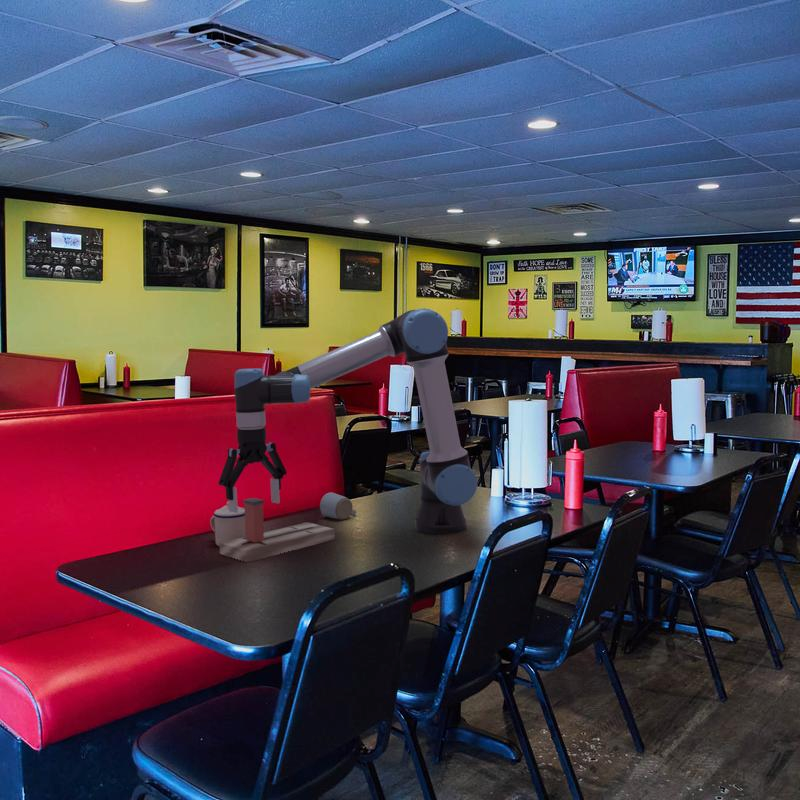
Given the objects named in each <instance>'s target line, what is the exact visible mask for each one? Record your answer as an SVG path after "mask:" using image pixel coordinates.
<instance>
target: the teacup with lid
mask: <svg viewBox="0 0 800 800" xmlns="http://www.w3.org/2000/svg"><path fill="white" fill-rule="evenodd" d="M237 509H238V512H237V513H234V512H230V511H229V501H227V502H226V504H225V505H224V506H222V507H221V508H219V509H216V510H215V511H214V512H213V513H214V514H213V515H212V517H211V518H210V520H209V524H210V527H211V529H212V531H213V532H214V534H215V535H214V536H215V537H214V538H215V545H216V546H218V547H220V544H219V543H221V542H225V541H229V540H234V539H238V538H242V537H245V507H240V506H238V505H237Z"/></svg>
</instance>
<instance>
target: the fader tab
mask: <svg viewBox="0 0 800 800" xmlns="http://www.w3.org/2000/svg"><path fill="white" fill-rule="evenodd" d="M242 502H243V504H244V509H245V537H246V540H248V541H251V542H258V541H263V540H264V532H265V530H264V504H265V501H264V499H261V498H256V497H252V498H247V499H243V501H242Z"/></svg>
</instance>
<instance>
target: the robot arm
mask: <svg viewBox="0 0 800 800" xmlns="http://www.w3.org/2000/svg"><path fill="white" fill-rule="evenodd" d="M448 329H449V328H448V324H447V322H446V320H445V319H444V317H443V316H442V315H441V314H440V313H438V312H436V311H435V310H433V309H430V308H418V309H411V310H408V311H406V312H403V313H401V314H400V315H398V316H397V317H395V318H393V319H392V320H390V321H388V322H386V323H384V324H382V325H380V326H379V327H378V329H377V331H374V332H373V333H370V334H367V335H365V336H363V337H360V338H358V339H356V340H353V341H352V342H349V343H346V344H344V345H342V346H340V347H338V348H336V349H332V350H330V351H328V352H326V353H324V354H321V355H319V356H317V357H315V358H312V359H310V360H308V361H305V362H303V363H301V364H298V365H297V366H294V367H291V368H289V369H287V370H282V371H279V372H278V373H276V374H274V375H265V373H264V370H263V369H262V368H257V367H256V368H241V369H238V370H237V369H236V371H235V372H234V398H235V399H234V401H235V403H234V404H235V416H236V417H235V418H236V427H237V429H236V440H237V444H238V447H237V448H236V449H235V448H228V449H227V458H226V461H225V463H224V466H223V468H222V472H221V473H220V477H219V481H218V483H217V484H218V486H221V487H224V488H225V497H226V498H225V499H226V500H227V501H228V502H229V511H230V512H234V513H237V512H238V509H237V506H238V493H237V489H238V488H237V487H236V486H235V485H236V483H237V481H238V480H239V478H240V476H241V475H242V473H243V471H244V470H245V468H246V467H247V466H248V465H249V464H250V465H251V464H254V463H261V464H262V466H263V467H264V468H265V469H266V470H267V471H268V473H269V475H271V476H272V477H271V478H270V496H271V497H270V498H271V500H270V501H271V503H272V504H273V503H275V504H280V503H281V501H280V500H281V499H280V490H282V482H281V481H282V479H283V478H284V476H286V475H287V473H288V472H287V470H286V468H285V465H284V464H283V461H282V459H281V457H280V454H279V453H278V452H277V451H278V450H277V445H276V443H275V442H270V441H268V442H267V443H266V441H267V429H266V427H265V426H266V425H267V422H266V421H267V420H266V406H265V405H272V404H274V405H275V404H276V405H277V404H279V405H280V404H300V403H307V402H309V401H310V399H311V390H312V389H314V388H316V387H318V386H321V385H324V384H325V383H328V382H331V381H333V380H335V379H337V378H340V377H341V376H345V375H346V374H348V373H351V372H354V371H356V370H358V369H360V368H363V367H366V366H367V365H370V364H371V363H374V362H376V361H379V360H381V359H383V358H386V357H388V356H389V357H393V358H395V357H398V356H399V355H401V354H404V356H405V357H404V358H405V360H406V364H408V365H409V366H411V367H412V368H413V371H414V372H413V373H414V378H415V383H416V388H417V393H418V398H419V403H420V408H421V413H422V418H423V421H424V422H423V423H424V428H425V433H426V438H427V442H428V447H429V450H428V451H423V452H421V453H420V456H419V457H420V458H419V462H418V463H419V472H420V473H419V478H420V479H419V482H420V483H419V484H420V486H419V487H420V489H419V491H420V503H419V507H418V510H417V512H416V518H415V519H414V529H415V531H416V532H417V531H418V532H420V533H425V534H430V535H451V534H458V533H461V532H464V531H465V530H466V529H467V520H466V517H465V515H464V514H465V513H464V512H463V508H462V505H464V504H466V503H467V502H469V501H470V500H471V499H472V498H473V497H474V495H475V494H476V492H477V488H478V479H477V475H476V473H475V471H474V470H473V469H472V468H471V462H470V458H469V452H468V450H466V449H465V448H464V447H462V446H461V441H460V436H459V431H458V425H457V421H456V420H457V419H456V415H455V409H454V404H453V399H452V395H451V389H450V385H449V378H448V374H447V369H446V364H445V361H446V359H447V358H448V357H449V349H448V345H447V341H448V337H449V330H448ZM266 452H267V453H268V455H269V457H268V456H267V455H266V454H265V453H266ZM237 458H238V459H237ZM269 458H270V459H269ZM270 460H271V461H270Z"/></svg>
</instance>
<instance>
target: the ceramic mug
mask: <svg viewBox="0 0 800 800" xmlns="http://www.w3.org/2000/svg"><path fill="white" fill-rule="evenodd" d="M319 511H320V512H321V514H322V516H323V517H327V518H330V519H335V520H338V521H339V520H340V521H341V520H342V521H344V520H347V519H348V518H349V517H350V516H351V515H352V516H356V514H357V510H355V509H353V503H352V501H351V500H350V499H349V498H348V497H346V496H344V495H340V494H338V493H335V492H331V491H330V492H328V493H325V494H324V495H323V496H322V498H321V499H320V503H319Z"/></svg>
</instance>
